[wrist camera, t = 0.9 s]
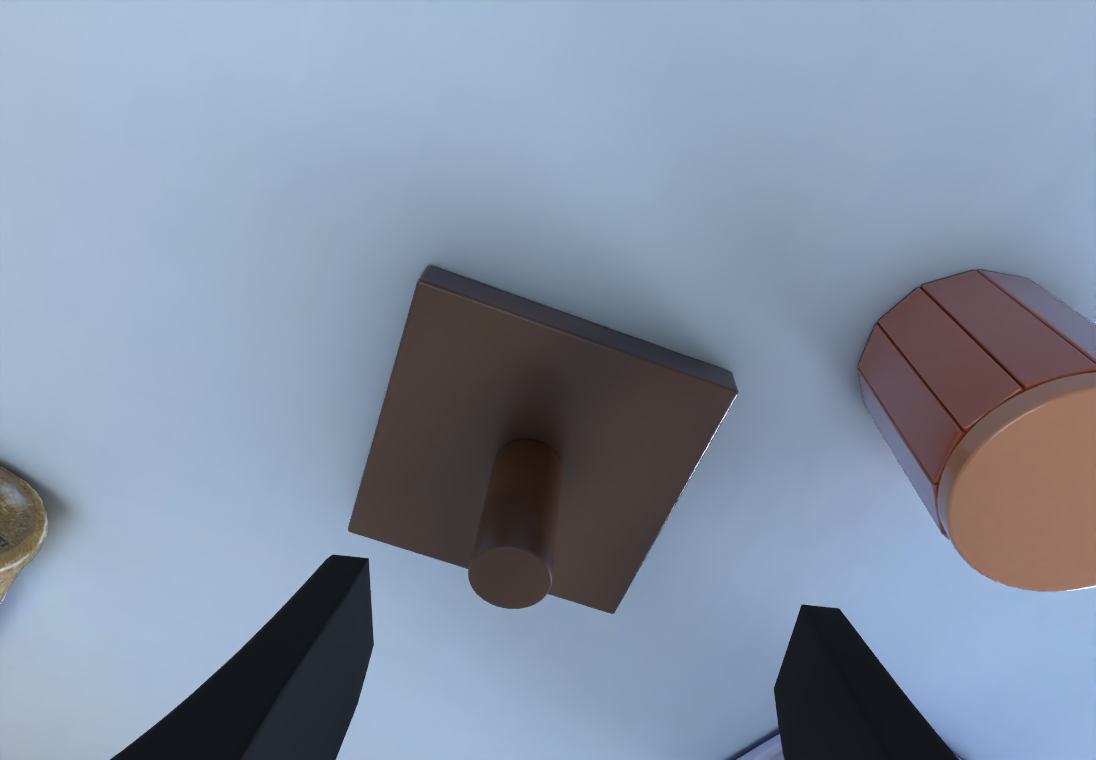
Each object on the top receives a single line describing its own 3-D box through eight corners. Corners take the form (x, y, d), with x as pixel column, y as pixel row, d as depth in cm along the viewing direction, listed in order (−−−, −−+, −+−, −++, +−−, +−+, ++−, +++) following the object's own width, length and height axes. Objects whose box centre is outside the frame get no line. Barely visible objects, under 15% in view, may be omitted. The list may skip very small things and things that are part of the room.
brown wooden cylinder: (1103, 354, 20) (1285, 491, 14) (937, 471, 22) (1044, 628, 16) (983, 231, 18) (1136, 332, 13) (819, 368, 20) (893, 504, 15)
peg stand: (733, 371, 21) (773, 496, 16) (613, 589, 25) (615, 742, 20) (427, 263, 20) (366, 359, 15) (357, 508, 24) (291, 646, 19)
